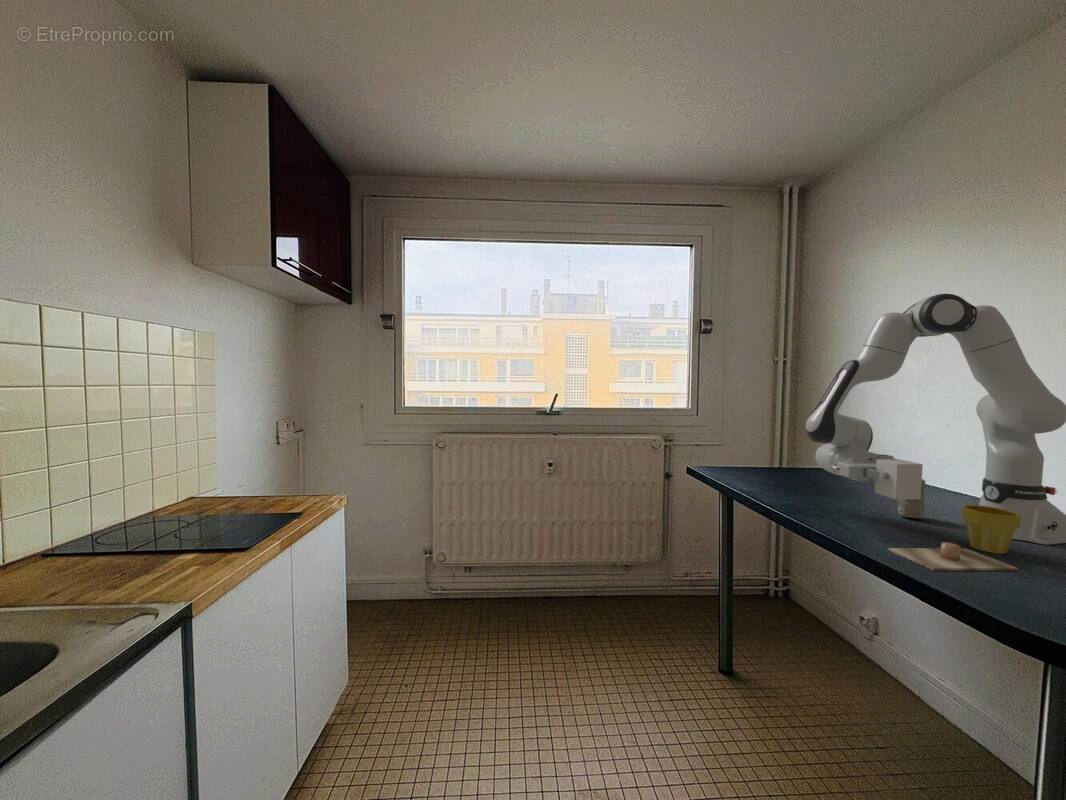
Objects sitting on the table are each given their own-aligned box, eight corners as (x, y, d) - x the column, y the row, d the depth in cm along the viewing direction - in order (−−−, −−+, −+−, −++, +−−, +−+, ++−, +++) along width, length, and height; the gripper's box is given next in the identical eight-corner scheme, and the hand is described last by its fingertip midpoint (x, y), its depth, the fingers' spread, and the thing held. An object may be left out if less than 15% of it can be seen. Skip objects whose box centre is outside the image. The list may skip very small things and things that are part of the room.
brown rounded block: (949, 554, 114) (950, 542, 114) (963, 560, 110) (964, 547, 110) (936, 554, 113) (937, 542, 113) (949, 560, 110) (950, 547, 110)
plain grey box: (898, 492, 131) (900, 459, 130) (920, 499, 124) (922, 464, 124) (874, 492, 130) (876, 459, 130) (895, 499, 124) (897, 464, 123)
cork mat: (965, 550, 119) (965, 548, 119) (1017, 570, 107) (1017, 568, 107) (887, 550, 117) (887, 548, 117) (932, 570, 105) (932, 568, 105)
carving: (922, 516, 148) (925, 477, 147) (925, 522, 141) (928, 482, 141) (896, 513, 151) (898, 474, 150) (898, 518, 145) (901, 478, 144)
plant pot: (993, 543, 125) (995, 505, 124) (1029, 558, 114) (1033, 517, 114) (949, 540, 126) (952, 503, 125) (982, 555, 115) (985, 514, 115)
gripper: (827, 454, 139) (863, 463, 125) (895, 455, 140) (938, 464, 127) (826, 476, 139) (862, 488, 125) (893, 477, 141) (936, 488, 127)
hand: (901, 476), depth 126 cm, fingers closed on plain grey box, 7 cm apart
